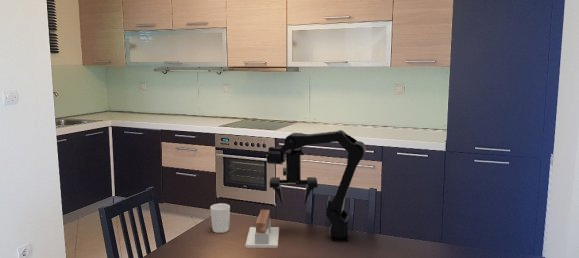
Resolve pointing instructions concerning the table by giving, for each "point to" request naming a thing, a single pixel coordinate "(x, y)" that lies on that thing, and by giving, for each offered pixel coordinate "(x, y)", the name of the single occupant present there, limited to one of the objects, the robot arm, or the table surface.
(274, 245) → the display stand
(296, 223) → the table surface
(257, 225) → the terracotta bar
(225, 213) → the white cup
